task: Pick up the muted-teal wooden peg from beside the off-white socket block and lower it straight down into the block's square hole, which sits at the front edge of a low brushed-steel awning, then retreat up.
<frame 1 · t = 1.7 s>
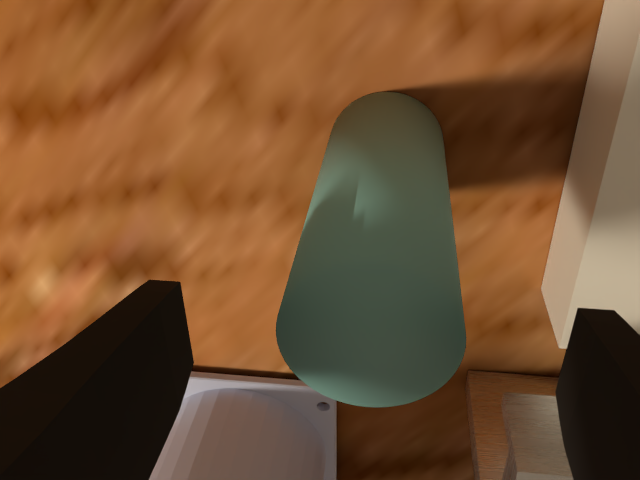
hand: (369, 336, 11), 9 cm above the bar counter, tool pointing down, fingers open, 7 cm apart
peg: (385, 146, 19), on the bar counter
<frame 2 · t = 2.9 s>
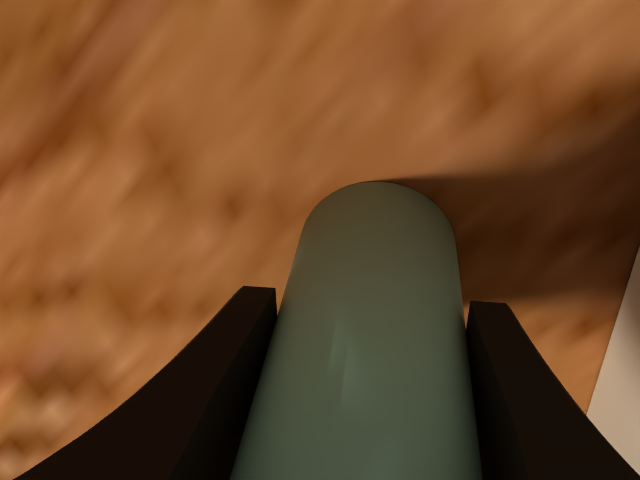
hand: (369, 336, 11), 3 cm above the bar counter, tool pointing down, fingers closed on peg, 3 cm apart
peg: (377, 251, 14), on the bar counter, touching gripper
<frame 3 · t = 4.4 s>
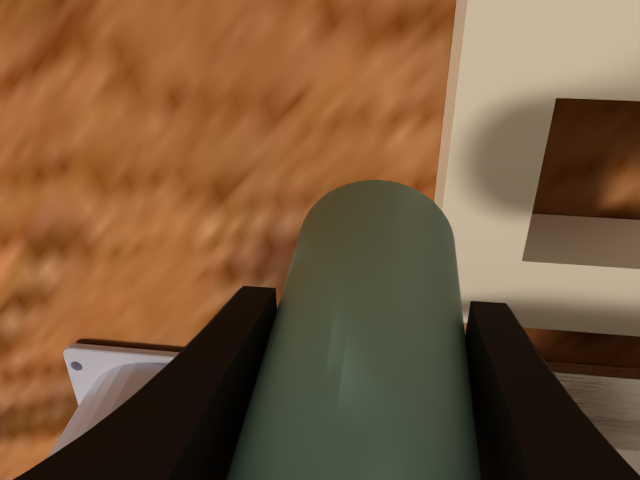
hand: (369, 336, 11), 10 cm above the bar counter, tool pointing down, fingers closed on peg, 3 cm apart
peg: (375, 249, 14), point 7 cm above the bar counter, touching gripper
awning: (580, 406, 20), on the bar counter
socket block: (602, 147, 19), on the bar counter
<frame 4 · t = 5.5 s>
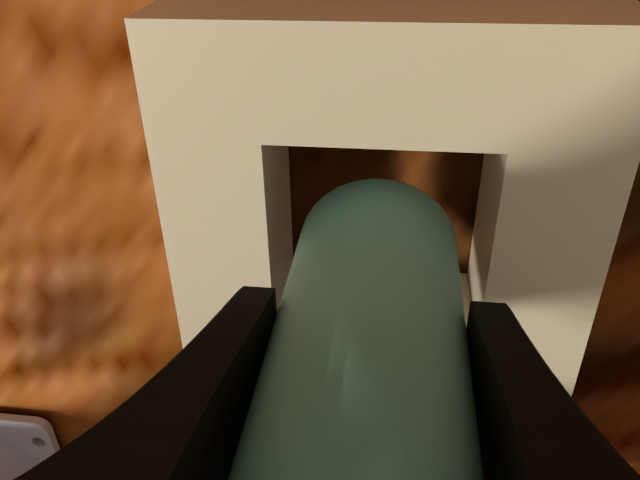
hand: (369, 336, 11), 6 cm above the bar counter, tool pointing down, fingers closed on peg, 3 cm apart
peg: (377, 248, 14), point 3 cm above the bar counter, touching gripper
socket block: (382, 190, 16), on the bar counter
when the fingers open (4 cm above the bar counter, at t = 6.3 s): peg stays where it is, resting in socket block.
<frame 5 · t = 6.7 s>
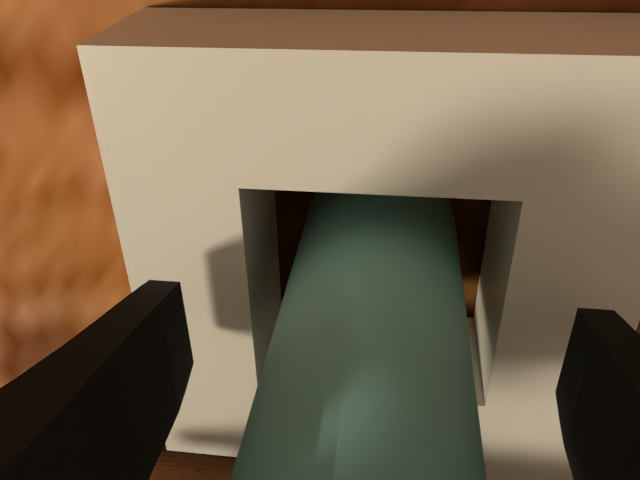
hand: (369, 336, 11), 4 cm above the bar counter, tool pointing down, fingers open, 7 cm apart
peg: (380, 226, 15), resting in socket block
socket block: (379, 228, 15), on the bar counter
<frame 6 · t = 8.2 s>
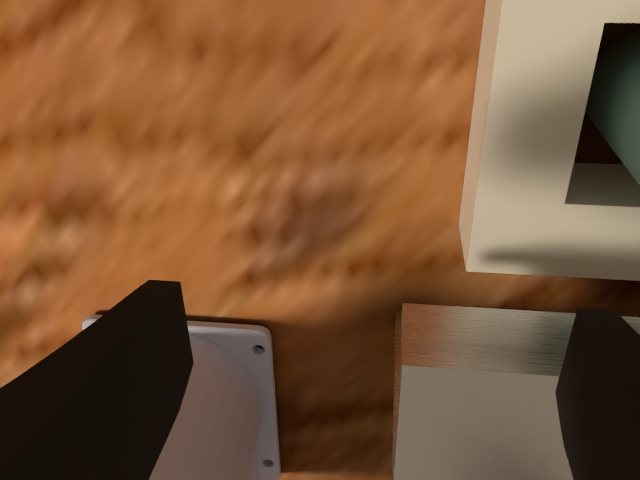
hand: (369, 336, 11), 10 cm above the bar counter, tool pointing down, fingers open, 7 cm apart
awning: (625, 358, 19), on the bar counter
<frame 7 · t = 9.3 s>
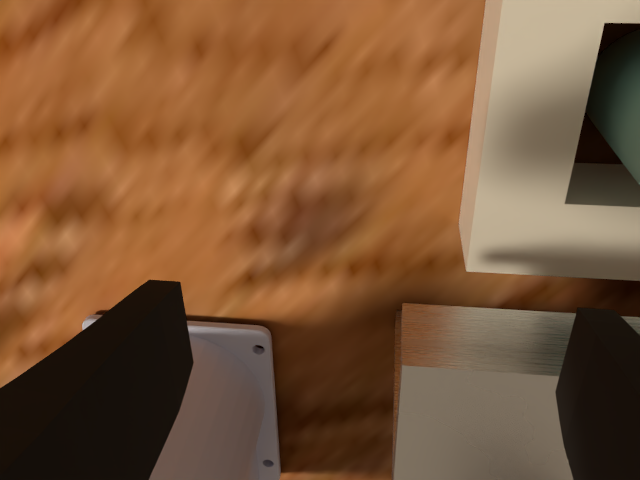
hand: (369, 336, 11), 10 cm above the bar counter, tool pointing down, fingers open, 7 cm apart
awning: (625, 358, 19), on the bar counter
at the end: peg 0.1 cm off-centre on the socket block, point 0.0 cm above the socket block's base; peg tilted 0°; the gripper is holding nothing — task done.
